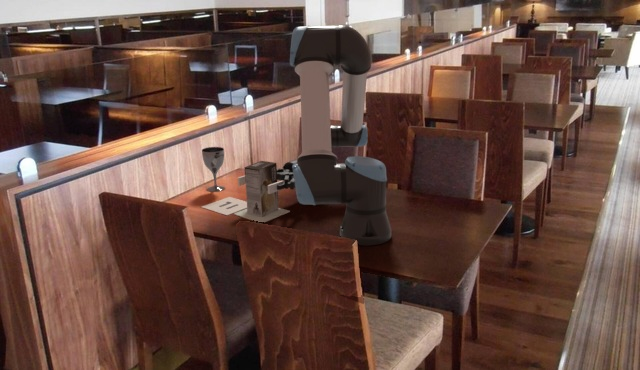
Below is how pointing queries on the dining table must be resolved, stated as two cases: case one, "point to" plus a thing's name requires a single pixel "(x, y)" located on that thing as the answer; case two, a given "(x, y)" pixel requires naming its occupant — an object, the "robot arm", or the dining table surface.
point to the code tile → (227, 206)
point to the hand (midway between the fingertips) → (253, 185)
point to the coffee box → (261, 188)
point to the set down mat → (264, 218)
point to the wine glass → (213, 164)
